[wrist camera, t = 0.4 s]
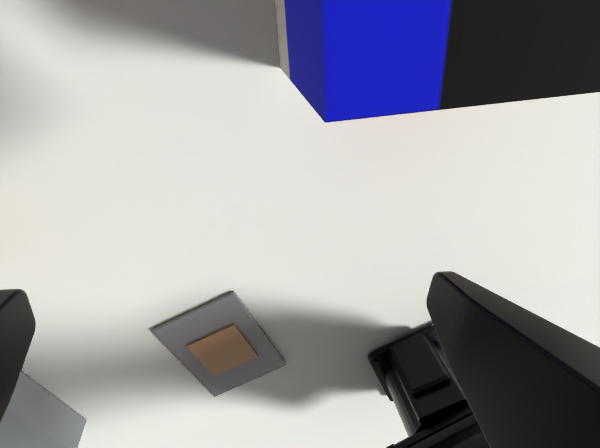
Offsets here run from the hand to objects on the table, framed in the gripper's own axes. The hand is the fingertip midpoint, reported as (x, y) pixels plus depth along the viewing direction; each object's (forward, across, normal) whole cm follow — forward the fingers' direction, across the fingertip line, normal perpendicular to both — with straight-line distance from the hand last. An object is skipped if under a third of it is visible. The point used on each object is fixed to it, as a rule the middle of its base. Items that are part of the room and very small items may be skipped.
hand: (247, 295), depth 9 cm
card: (+14, +1, +16) cm, 21 cm away
